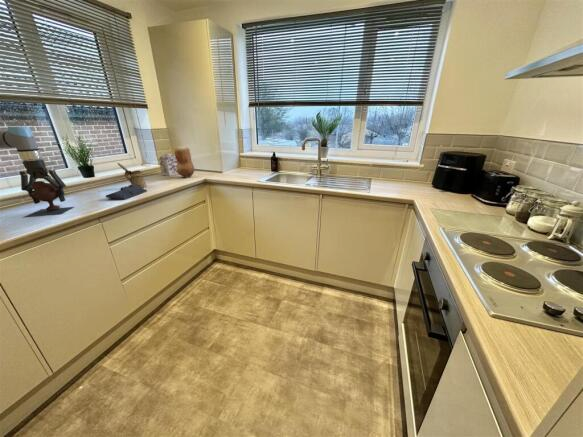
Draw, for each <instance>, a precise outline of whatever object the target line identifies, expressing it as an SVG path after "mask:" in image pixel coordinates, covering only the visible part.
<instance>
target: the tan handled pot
mask: <svg viewBox="0 0 583 437" xmlns="http://www.w3.org/2000/svg"><path fill="white" fill-rule="evenodd" d="M116 164H117V165H118V166H119V167H120V168H121V169H122V170H123V171H124V177H125V179H127V180H128V182H130V185H131V184H135V185H140V186H142V188H143V189H144V188H146V187H147V183H146V181H145V179H144V176H143V173H142V171H141V170H133V171H131V170H129V169H128V168H126V167H125V166H124V165H123V164H122V163H119V162H117V163H116Z"/></svg>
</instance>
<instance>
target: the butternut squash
mask: <svg viewBox="0 0 583 437" xmlns="http://www.w3.org/2000/svg"><path fill="white" fill-rule="evenodd" d="M174 155H175V157H176V160H177V172H178V174H177V175H179V176H181V177H183V178H190V177H192V176H193V175H194V173H195V166H194V164H193V161H192V155H191V152H190V148H189V147H188V146H187V145H181V146H177V147H175V148H174Z"/></svg>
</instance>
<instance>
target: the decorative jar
mask: <svg viewBox="0 0 583 437" xmlns="http://www.w3.org/2000/svg"><path fill="white" fill-rule="evenodd" d="M158 162H159V166H160V171H161V175H162V176H167V177H171V176H177V175H179V174H178V172H177V160H176V157H175V154H171V153H169V152H167V153H164V155H161V156H160V157H159V158H158Z"/></svg>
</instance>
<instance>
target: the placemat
mask: <svg viewBox="0 0 583 437" xmlns="http://www.w3.org/2000/svg"><path fill="white" fill-rule="evenodd" d="M73 208H75V206H65V207H60V208H58V209H54V210H46V208H41V209H39V210H36V211H33V212H32V213H30V214H27V215H25V216H23V217H22V219H23V218H36V217H49V216H60V215H63V214H64V213H66V212H68V211H70V210H72V209H73Z"/></svg>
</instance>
